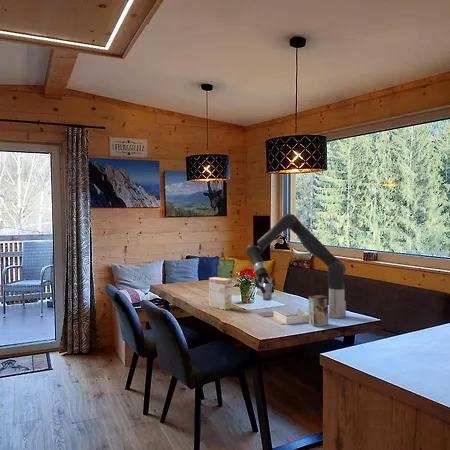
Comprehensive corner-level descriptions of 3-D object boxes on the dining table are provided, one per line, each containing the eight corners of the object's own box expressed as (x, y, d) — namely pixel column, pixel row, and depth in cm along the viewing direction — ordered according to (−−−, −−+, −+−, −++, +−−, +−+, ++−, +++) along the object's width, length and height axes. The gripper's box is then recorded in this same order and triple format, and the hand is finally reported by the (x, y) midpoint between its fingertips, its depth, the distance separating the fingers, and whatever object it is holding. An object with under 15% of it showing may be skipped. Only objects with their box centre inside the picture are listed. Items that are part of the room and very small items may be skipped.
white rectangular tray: (301, 313, 269) (301, 307, 269) (317, 321, 252) (317, 314, 252) (267, 317, 262) (267, 310, 261) (281, 324, 244) (281, 317, 244)
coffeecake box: (232, 308, 285) (232, 279, 284) (224, 310, 280) (224, 280, 279) (216, 304, 296) (216, 276, 295) (208, 306, 291) (208, 277, 290)
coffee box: (322, 322, 248) (322, 294, 248) (328, 325, 242) (328, 297, 242) (308, 323, 246) (308, 295, 245) (313, 326, 240) (313, 298, 239)
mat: (271, 312, 274) (271, 311, 274) (278, 315, 265) (278, 315, 265) (256, 313, 271) (256, 312, 271) (263, 317, 261) (263, 316, 261)
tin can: (269, 298, 271) (269, 282, 271) (273, 300, 266) (273, 284, 265) (261, 299, 269) (261, 283, 269) (265, 300, 264) (265, 284, 263)
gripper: (252, 267, 271) (259, 290, 260) (272, 266, 276) (281, 288, 265) (248, 274, 277) (256, 297, 266) (269, 273, 281) (277, 295, 270)
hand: (268, 292), depth 266 cm, fingers closed on tin can, 5 cm apart
